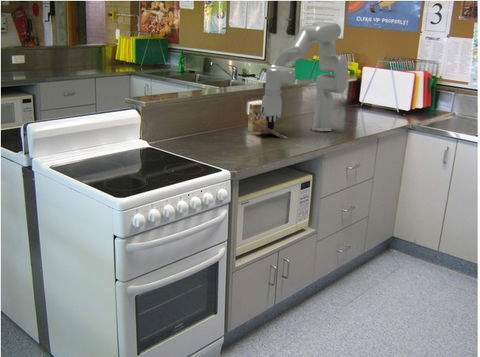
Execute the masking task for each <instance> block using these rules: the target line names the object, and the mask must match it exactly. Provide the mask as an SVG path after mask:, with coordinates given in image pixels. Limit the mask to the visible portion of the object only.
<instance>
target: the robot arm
mask: <svg viewBox="0 0 480 357" xmlns="http://www.w3.org/2000/svg"><path fill="white" fill-rule="evenodd" d="M341 33H342V29H341V26H340V25H339V24H338V23H336V22H327V21H326V22H324V21H315V22H313V23H312V24H306V25H305V24H304V26H302V27H301V29H299V32H298V33H297V36H296V37H295V39H294V40H293V42H292V43H291V45H290V47H288V48H287V49H285V50H284V51H283V52H281V53H280V54H278V56H276V57H275V59H274V60H273V62H272V64H271V65H270V67H268V68H267V69H266V71H265V88H264V95H263V96H262V100H261V103H260V104H261V114H262V118H264V119H266V122H267V124H266V127H267V128H269V129H271V130H273V131H274V128H275V122H276V120H277V119H279V118H281V117H282V111H283V110H282V109H283V103H282V96H281V94H282V93H283V91H282V90H281V83H286V84H287V83H291V82H293V81H294V80H295V79H296V76H297V75H296V71H295V70H294V69H293V68H291V67H288V66H286V65H287V64H289V63H291V62H293V61H296V60H299V59H302V58H303V57H305V56H306V54H307V52H308V51H309V49H310V47H311V45H312V44H313V43H316V44H318V45H319V57H318V59H319V60H318V62H319V64H318V65H319V69H320V70H321V71H322V72H327V73H321V74H319V75H318V76H317V77H316V81H315V87H316V90H315V91H316V95H315V97H316V98H315V104H314V105H315V106H314V107H315V108H314V114H313V123H312V124H313V125H312V126H313V127H315V128H323V129H324V128H330V127H332V126H337V127H338V123H332V115H333V106H334V97H333V93H334V94H343V93H345V91H346V89H347V86H348V71H349V63H348V60H347V58H346V57H345V56H344V55H341V54H337V53H336V40H338V38H340V36H341ZM333 73H334V74H333ZM332 128H333V127H332Z"/></svg>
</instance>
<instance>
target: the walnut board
mask: <svg viewBox="0 0 480 357" xmlns="http://www.w3.org/2000/svg"><path fill="white" fill-rule="evenodd" d="M252 124H253V125H255V126H257V127H259V128H261V129H263V130H265V131H264V132H268V133H269V134H272V135H274V136H276V137H279V138H280V139H282V138H284V137H283V136H284V135H283V136H282V134H280V133H279V132H277V131H274V129H273V130H271V129H269V128H268V127H267V126H266V127H265V126H263V125H261V124H258V123H256V122H253V123H252Z"/></svg>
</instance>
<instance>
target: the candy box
mask: <svg viewBox="0 0 480 357" xmlns="http://www.w3.org/2000/svg"><path fill="white" fill-rule="evenodd" d="M261 104H262V103H249V106H248V107H249V110H248V124H247V125H248V126H247V131H250V132H253V133H254V132H266V131H265V130H263V129H261V128H259V127H257V126H255V125H253V124H252V123H253V122H256V123H258V124H261V125H263V126H265V127H267V120H266V119H264V118H262V114H261Z"/></svg>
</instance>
